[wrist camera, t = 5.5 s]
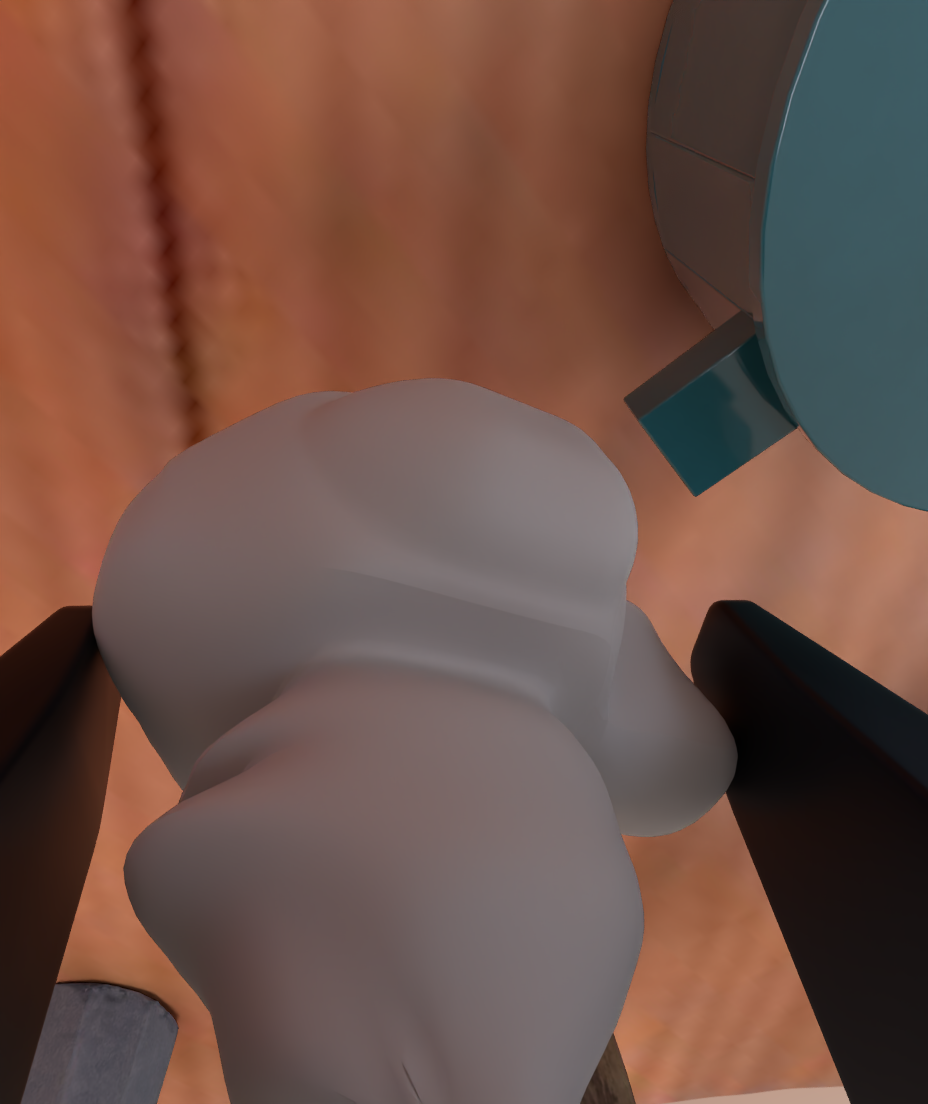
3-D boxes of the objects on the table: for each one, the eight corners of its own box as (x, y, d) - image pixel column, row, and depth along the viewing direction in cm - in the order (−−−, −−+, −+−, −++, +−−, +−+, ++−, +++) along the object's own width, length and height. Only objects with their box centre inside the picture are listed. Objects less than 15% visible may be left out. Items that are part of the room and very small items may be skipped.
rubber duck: (212, 210, 7) (-471, 1641, 1) (737, 436, 10) (1501, 1282, 3) (99, 618, 10) (-291, 1726, 4) (534, 715, 12) (753, 1485, 6)
